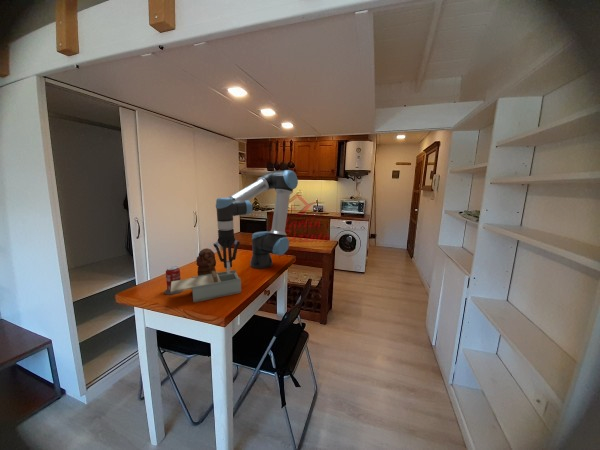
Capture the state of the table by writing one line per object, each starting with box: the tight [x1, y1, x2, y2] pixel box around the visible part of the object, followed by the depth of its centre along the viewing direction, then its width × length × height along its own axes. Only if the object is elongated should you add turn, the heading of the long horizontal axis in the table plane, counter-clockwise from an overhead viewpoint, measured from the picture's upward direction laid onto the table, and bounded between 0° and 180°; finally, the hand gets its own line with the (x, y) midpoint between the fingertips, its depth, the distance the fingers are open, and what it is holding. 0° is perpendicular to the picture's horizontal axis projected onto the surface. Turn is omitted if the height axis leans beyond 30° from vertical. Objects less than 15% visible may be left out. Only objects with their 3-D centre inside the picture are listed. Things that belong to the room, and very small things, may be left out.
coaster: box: [164, 288, 185, 296], centre depth 114 cm, size 9×9×1 cm
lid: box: [170, 271, 221, 293], centre depth 108 cm, size 21×11×3 cm, turn 118°
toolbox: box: [190, 269, 242, 303], centre depth 113 cm, size 22×13×8 cm, turn 118°
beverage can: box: [165, 265, 182, 291], centre depth 113 cm, size 6×6×12 cm
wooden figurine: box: [195, 247, 217, 276], centre depth 128 cm, size 12×6×18 cm, turn 167°
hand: (228, 273), depth 115 cm, fingers closed
